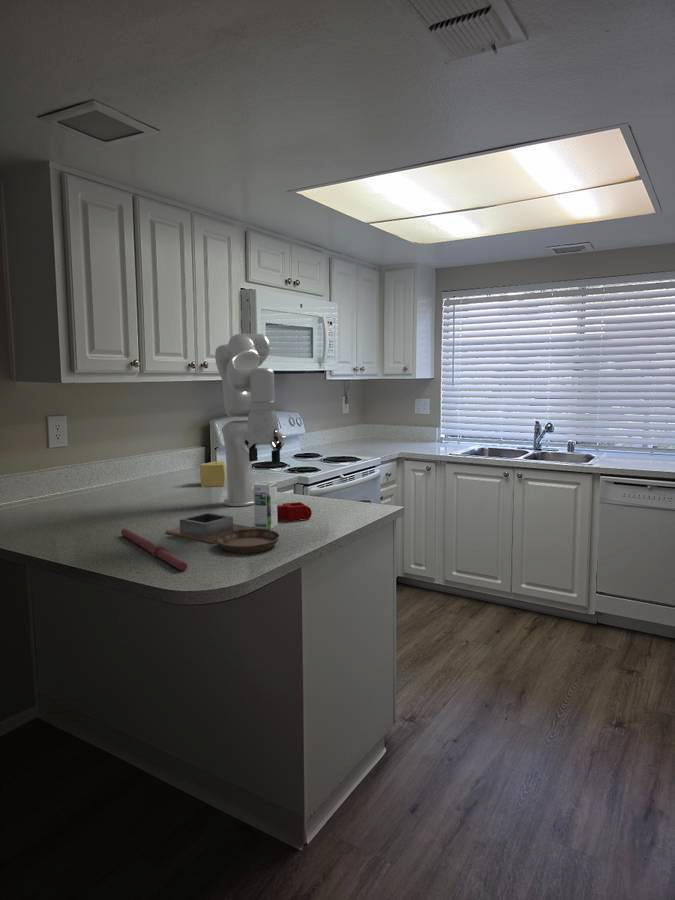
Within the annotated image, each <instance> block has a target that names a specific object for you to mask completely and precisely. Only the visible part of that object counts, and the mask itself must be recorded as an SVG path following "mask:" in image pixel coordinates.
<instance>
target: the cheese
mask: <svg viewBox="0 0 675 900" xmlns="http://www.w3.org/2000/svg"><path fill="white" fill-rule="evenodd" d="M199 473H200V475H199V476H200V478H199V479H200V485H201V487H202V488H206V487H208V488H209V487H225V484H226V461H210V462H203V463H201V464H200V468H199Z"/></svg>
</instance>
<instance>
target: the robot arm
mask: <svg viewBox="0 0 675 900" xmlns="http://www.w3.org/2000/svg"><path fill="white" fill-rule="evenodd" d="M270 351H271V343H270V340H269V338H268V337H267V336H266V334H262V333H237V334H234V335H232V336H231V337H230V338H229V340H228V342H227V344H221V345H219V346H217V348H216V349H215V355H214V356H215V357H214V358H215V365H216V368H217V370H218V373H219V375H220V377H221V381H222V391H223V392H222V393H223V404H224V411H225V414H226V415H227V416H228V417H230V418H247V419H245V420H244V419H240V420H239V419H238V420H237V419H236V420H230V421H228V422H225V424H224V425H223V427H222V437H223V443H224V449H225V470H226V488H227V489H226V492H227V494H226V495H227V498H226V499H224V500H223V501H222V503H223V505H225V506H228V507H246V506H247V507H248V506H252V505H253V506H254V489H253V470H252V469H253V468H252V467H253V464H252V462H257V461H258V458H259V457H258V447H257V446H258V445H259V446H260V445H263V446H265V445H269V446H270V447H271V449H272V450H271V464H279V463H281V450H282V448H283V446H284V445H285V442H286V439H287V438H286V437H287V436H286V435H284V434H283V433H281V432H280V428H279V419H278V415H277V412H276V399H275V397H276V395H275V372H274V370H273V368H269V367H260V366H262V365H263V364H264V362H265V361H266V359H267V358H268V357H269V355H270ZM246 448H247V449H248V450H247V449H246Z"/></svg>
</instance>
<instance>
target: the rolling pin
mask: <svg viewBox="0 0 675 900" xmlns="http://www.w3.org/2000/svg"><path fill="white" fill-rule="evenodd" d="M120 534H121V535H122V536H123V537H125V538H127V539H128V540H129V541H132V542H133V543H134V544H136V545H138V546H139V547H141V548H142V549H144V550H146V551H148V552H150V553H151V555H152V556H153V557H154V558H157V559H159V558H160V559H161V560H163V561H165V562H166V563H168V564H169V565H171V566H172V567H174V568H176V569H178V571H182V572H184V571H186V570H187V569H188V563H187V562H186V561H184V560H182V559H180V558H179V557H177V556H175V555H174V554H171V553H170V552H168V551H166V549H165V547H163V546H161V545H159V544H158V545H156V544H154V543H153V542H150V541H149V540H147V539H145V538H144V537H142V536H140V535H138V534H136V533H135V532H133V531H131V529H130V530H129V529H128V528H122V529H121V530H120Z"/></svg>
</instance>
